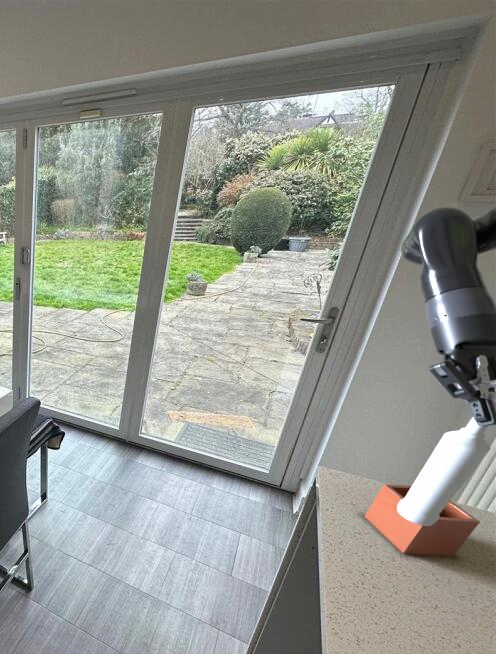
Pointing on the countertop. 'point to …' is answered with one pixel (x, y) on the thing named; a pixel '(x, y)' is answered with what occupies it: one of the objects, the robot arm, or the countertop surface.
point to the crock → (415, 537)
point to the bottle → (445, 472)
